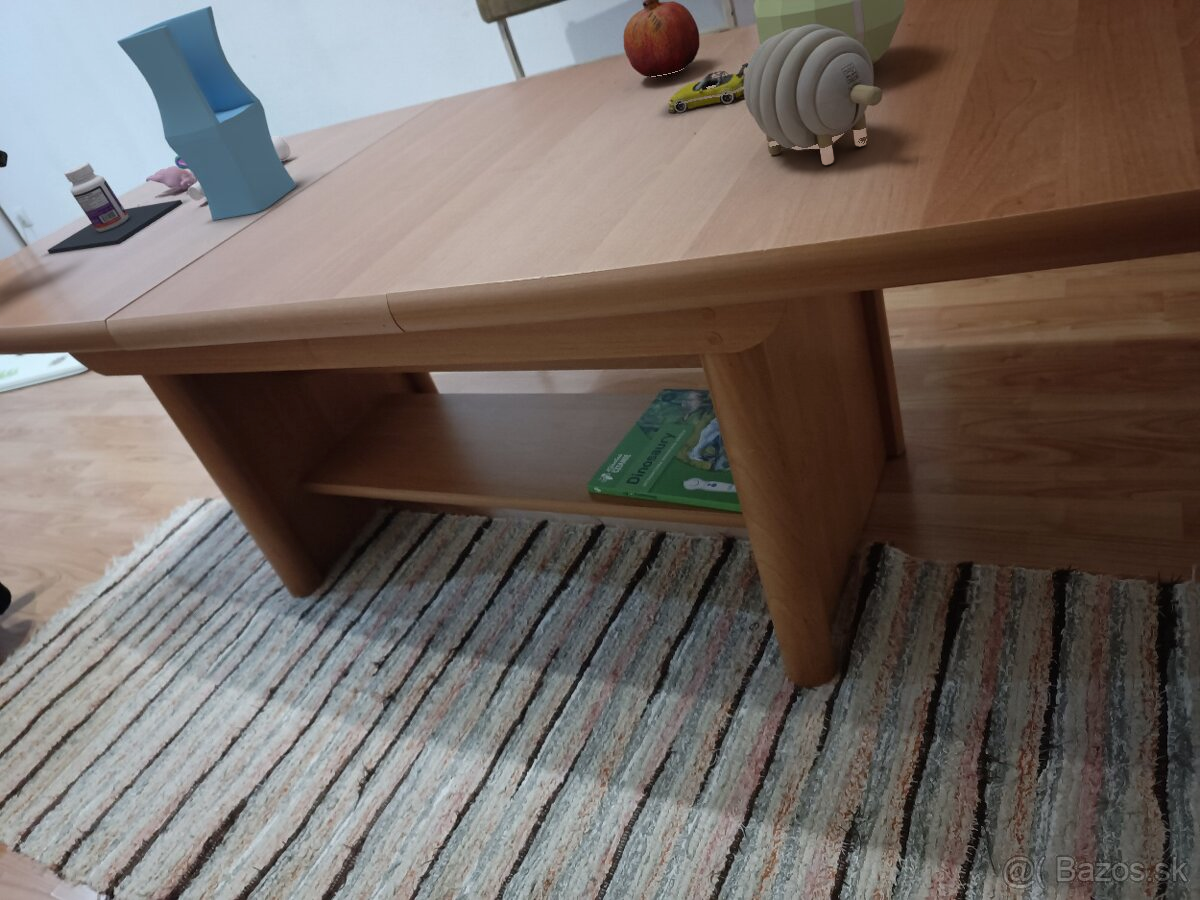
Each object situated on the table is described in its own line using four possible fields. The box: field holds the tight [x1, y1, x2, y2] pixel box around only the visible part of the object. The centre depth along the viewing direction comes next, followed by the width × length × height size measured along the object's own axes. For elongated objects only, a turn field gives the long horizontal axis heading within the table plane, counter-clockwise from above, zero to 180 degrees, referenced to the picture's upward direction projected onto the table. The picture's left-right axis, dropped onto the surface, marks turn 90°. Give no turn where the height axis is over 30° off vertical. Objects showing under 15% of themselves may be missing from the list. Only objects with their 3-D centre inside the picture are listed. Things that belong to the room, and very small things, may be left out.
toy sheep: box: [740, 24, 883, 156], centre depth 79 cm, size 11×17×11 cm, turn 35°
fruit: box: [622, 0, 700, 79], centre depth 115 cm, size 11×10×10 cm
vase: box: [116, 5, 298, 221], centre depth 122 cm, size 10×10×25 cm
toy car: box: [667, 62, 749, 114], centre depth 103 cm, size 5×10×3 cm, turn 71°
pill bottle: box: [63, 162, 129, 232], centre depth 138 cm, size 5×5×10 cm
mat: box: [46, 199, 183, 254], centre depth 142 cm, size 18×14×1 cm
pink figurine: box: [145, 155, 197, 191], centre depth 148 cm, size 6×6×15 cm
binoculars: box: [187, 134, 291, 201], centre depth 140 cm, size 10×16×5 cm, turn 163°
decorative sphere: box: [753, 0, 906, 65], centre depth 93 cm, size 15×15×15 cm
